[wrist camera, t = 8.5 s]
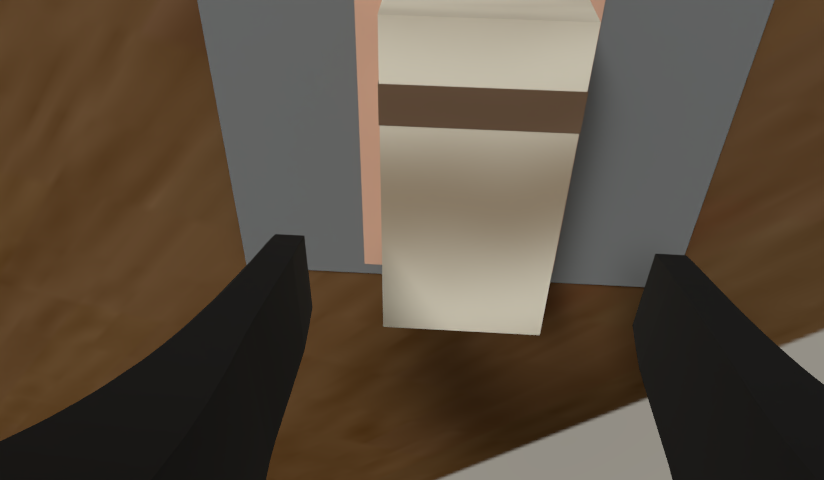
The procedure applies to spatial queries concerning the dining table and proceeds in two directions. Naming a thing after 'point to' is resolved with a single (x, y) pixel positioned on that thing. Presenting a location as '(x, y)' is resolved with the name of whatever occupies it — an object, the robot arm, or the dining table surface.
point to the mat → (360, 131)
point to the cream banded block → (477, 155)
